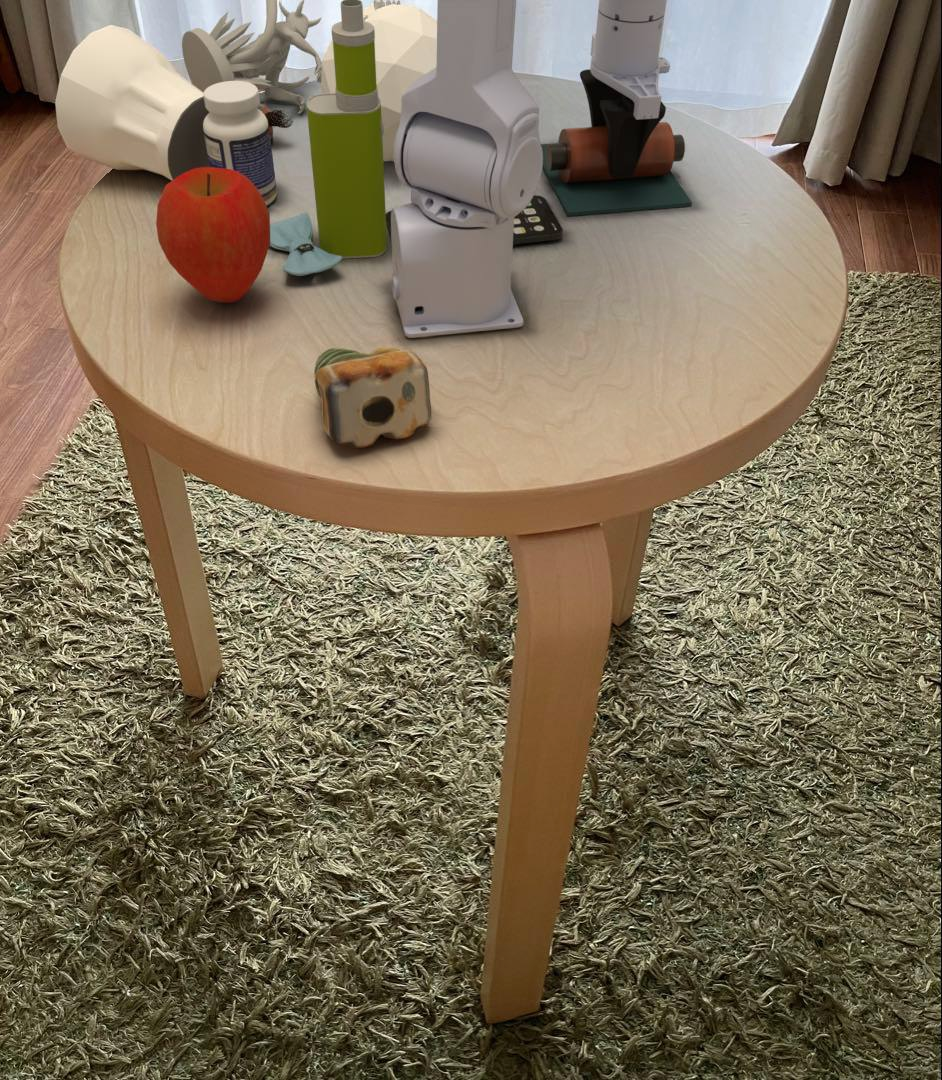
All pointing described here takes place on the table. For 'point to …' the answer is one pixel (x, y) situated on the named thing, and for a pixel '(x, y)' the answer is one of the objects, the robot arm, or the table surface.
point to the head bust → (276, 119)
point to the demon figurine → (250, 53)
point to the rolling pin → (587, 154)
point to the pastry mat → (616, 193)
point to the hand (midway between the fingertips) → (613, 162)
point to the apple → (214, 231)
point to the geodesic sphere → (393, 59)
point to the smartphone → (529, 223)
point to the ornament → (372, 394)
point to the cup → (130, 107)
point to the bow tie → (300, 246)
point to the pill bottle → (239, 134)
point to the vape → (349, 145)
